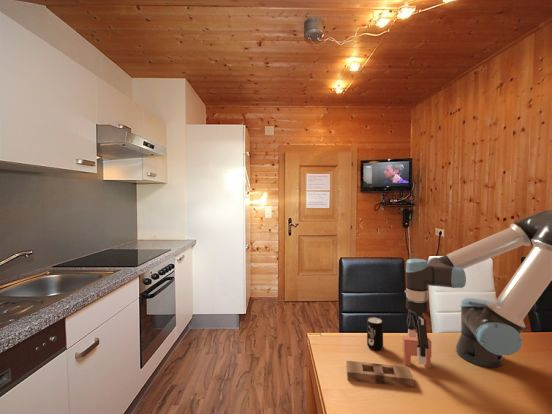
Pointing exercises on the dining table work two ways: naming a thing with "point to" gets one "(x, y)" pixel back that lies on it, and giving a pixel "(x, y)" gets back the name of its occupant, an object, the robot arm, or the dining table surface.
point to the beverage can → (375, 333)
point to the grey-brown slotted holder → (379, 374)
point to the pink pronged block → (414, 350)
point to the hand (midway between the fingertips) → (416, 354)
